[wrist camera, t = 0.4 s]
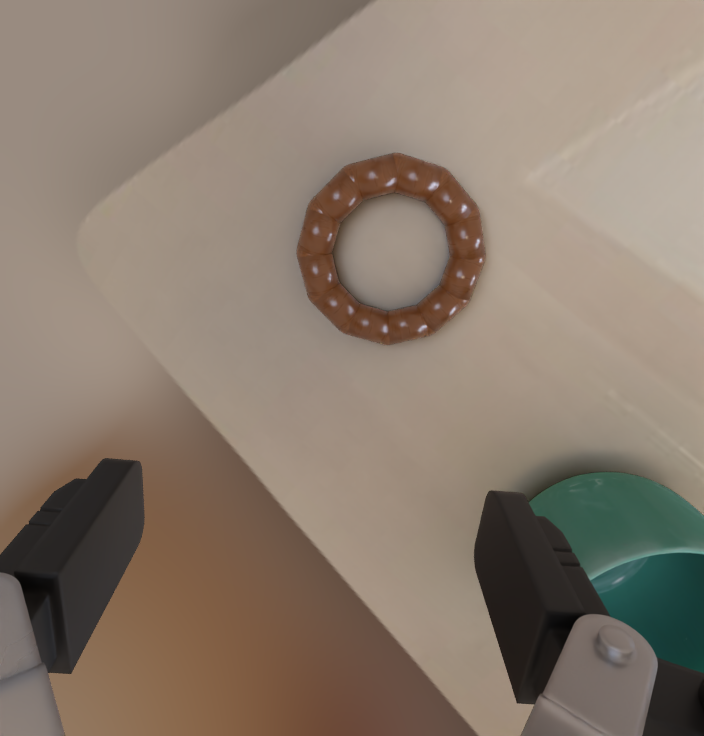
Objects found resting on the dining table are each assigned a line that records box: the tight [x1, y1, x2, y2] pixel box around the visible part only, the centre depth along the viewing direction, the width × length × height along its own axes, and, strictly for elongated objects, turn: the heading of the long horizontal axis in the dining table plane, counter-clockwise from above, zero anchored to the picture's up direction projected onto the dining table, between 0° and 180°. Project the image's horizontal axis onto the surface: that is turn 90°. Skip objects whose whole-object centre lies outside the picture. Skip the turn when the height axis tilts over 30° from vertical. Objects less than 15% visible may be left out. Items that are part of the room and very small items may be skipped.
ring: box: [297, 153, 486, 345], centre depth 28 cm, size 10×10×2 cm
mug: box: [529, 472, 704, 673], centre depth 32 cm, size 17×13×10 cm
